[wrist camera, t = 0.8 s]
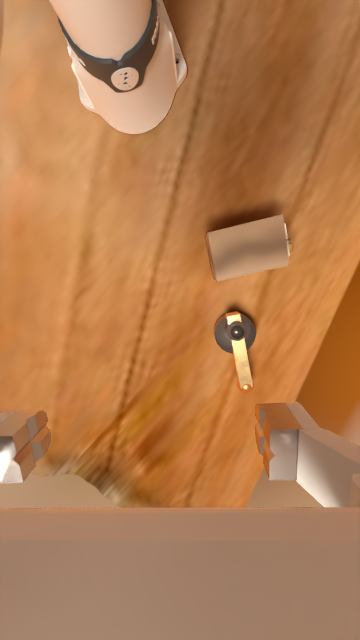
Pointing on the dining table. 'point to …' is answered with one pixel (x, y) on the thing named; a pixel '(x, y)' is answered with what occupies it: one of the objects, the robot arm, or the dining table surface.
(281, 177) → the dining table surface
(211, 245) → the brown box
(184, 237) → the dining table surface
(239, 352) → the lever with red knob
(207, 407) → the dining table surface
